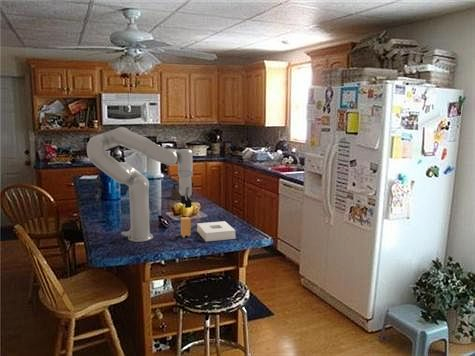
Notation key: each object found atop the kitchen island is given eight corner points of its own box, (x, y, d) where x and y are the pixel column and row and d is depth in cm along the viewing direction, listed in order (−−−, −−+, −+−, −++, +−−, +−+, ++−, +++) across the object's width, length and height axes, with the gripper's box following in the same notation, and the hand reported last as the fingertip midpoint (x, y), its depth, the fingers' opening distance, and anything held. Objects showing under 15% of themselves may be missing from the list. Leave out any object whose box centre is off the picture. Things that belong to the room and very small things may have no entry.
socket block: (205, 241, 204) (205, 233, 203) (197, 231, 221) (197, 223, 220) (235, 238, 209) (235, 230, 209) (224, 228, 226) (224, 221, 225)
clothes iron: (190, 201, 292) (190, 183, 289) (170, 199, 296) (170, 181, 294) (195, 198, 299) (194, 181, 297) (175, 197, 304) (175, 179, 302)
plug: (182, 238, 209) (182, 219, 207) (180, 235, 213) (180, 217, 211) (190, 237, 210) (190, 218, 209) (188, 235, 214) (188, 216, 212)
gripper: (175, 171, 213) (175, 202, 215) (181, 176, 196) (182, 210, 199) (188, 170, 215) (189, 201, 218) (196, 175, 199) (197, 208, 202)
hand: (186, 205), depth 209 cm, fingers open, 9 cm apart
